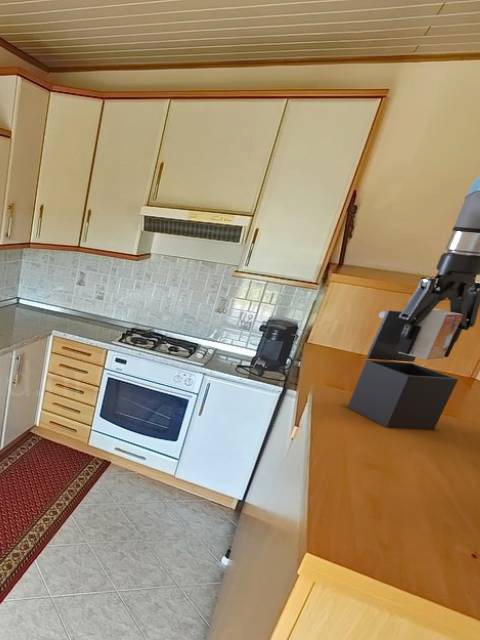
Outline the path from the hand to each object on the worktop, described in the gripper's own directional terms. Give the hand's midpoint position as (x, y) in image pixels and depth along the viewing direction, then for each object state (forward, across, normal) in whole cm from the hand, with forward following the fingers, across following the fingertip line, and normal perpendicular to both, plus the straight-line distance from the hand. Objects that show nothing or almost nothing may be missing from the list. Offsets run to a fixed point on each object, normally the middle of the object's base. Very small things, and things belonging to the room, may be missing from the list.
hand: (421, 353), depth 112 cm
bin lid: (-2, 0, -6) cm, 7 cm away
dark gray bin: (+17, 0, -1) cm, 17 cm away
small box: (+1, 0, 0) cm, 1 cm away
